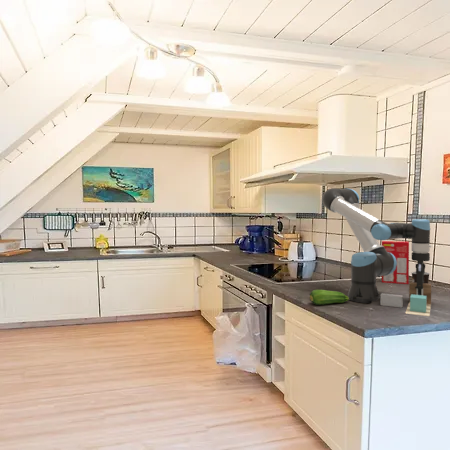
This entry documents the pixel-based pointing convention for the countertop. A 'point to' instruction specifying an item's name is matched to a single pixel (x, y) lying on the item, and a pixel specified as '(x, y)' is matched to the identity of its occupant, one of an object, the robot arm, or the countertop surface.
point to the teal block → (418, 303)
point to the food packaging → (398, 262)
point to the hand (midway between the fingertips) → (420, 300)
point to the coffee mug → (426, 276)
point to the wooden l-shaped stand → (425, 293)
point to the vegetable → (327, 297)
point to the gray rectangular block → (391, 300)
